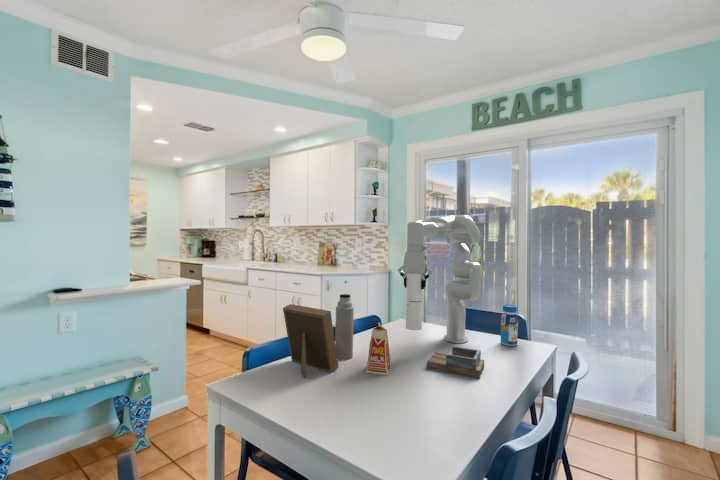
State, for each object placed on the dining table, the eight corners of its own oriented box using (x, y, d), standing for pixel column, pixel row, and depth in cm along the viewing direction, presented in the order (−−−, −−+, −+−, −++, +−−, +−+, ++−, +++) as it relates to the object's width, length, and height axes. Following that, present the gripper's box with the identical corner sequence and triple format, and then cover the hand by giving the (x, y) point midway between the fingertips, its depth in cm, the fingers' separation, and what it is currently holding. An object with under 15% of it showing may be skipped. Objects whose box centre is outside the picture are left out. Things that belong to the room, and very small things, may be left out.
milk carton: (388, 375, 141) (389, 324, 141) (365, 373, 143) (366, 323, 143) (391, 367, 150) (392, 319, 150) (369, 365, 152) (370, 317, 152)
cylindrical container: (416, 331, 158) (418, 274, 158) (402, 328, 162) (403, 273, 162) (424, 327, 164) (425, 273, 163) (410, 325, 168) (411, 271, 168)
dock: (435, 358, 162) (435, 343, 162) (484, 367, 152) (484, 350, 152) (426, 368, 149) (427, 352, 149) (479, 378, 140) (479, 360, 140)
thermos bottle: (336, 353, 166) (337, 292, 166) (353, 354, 165) (354, 293, 165) (333, 359, 158) (334, 295, 158) (351, 360, 157) (352, 296, 157)
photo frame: (298, 358, 158) (299, 302, 157) (338, 369, 146) (339, 308, 145) (273, 369, 145) (273, 307, 145) (314, 382, 133) (315, 315, 133)
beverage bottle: (500, 340, 193) (501, 303, 192) (518, 343, 189) (519, 305, 189) (499, 344, 185) (500, 306, 185) (517, 347, 181) (518, 307, 181)
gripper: (436, 249, 162) (435, 288, 162) (400, 248, 170) (399, 285, 170) (432, 249, 155) (431, 290, 156) (394, 248, 163) (393, 287, 163)
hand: (414, 287), depth 163 cm, fingers closed on cylindrical container, 7 cm apart
